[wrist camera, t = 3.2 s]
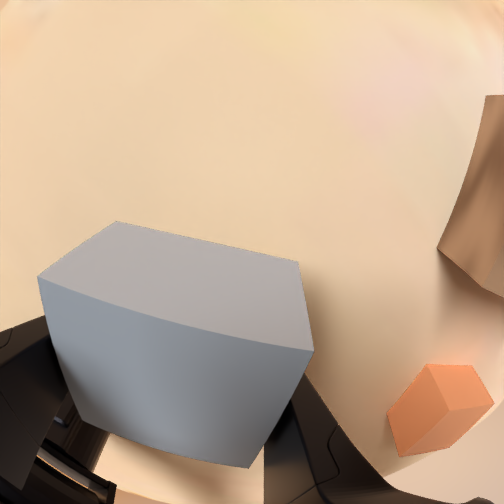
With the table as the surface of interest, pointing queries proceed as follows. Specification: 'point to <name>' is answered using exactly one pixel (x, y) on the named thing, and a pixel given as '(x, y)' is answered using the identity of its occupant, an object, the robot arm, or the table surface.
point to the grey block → (178, 340)
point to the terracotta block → (438, 408)
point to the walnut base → (481, 206)
